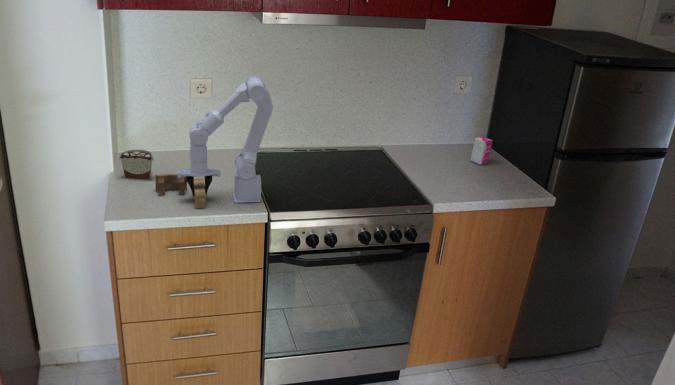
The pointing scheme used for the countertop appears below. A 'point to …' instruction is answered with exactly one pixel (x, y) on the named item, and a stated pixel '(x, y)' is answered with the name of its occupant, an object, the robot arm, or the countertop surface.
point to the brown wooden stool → (170, 183)
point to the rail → (199, 193)
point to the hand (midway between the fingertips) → (199, 195)
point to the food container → (137, 164)
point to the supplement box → (481, 150)
